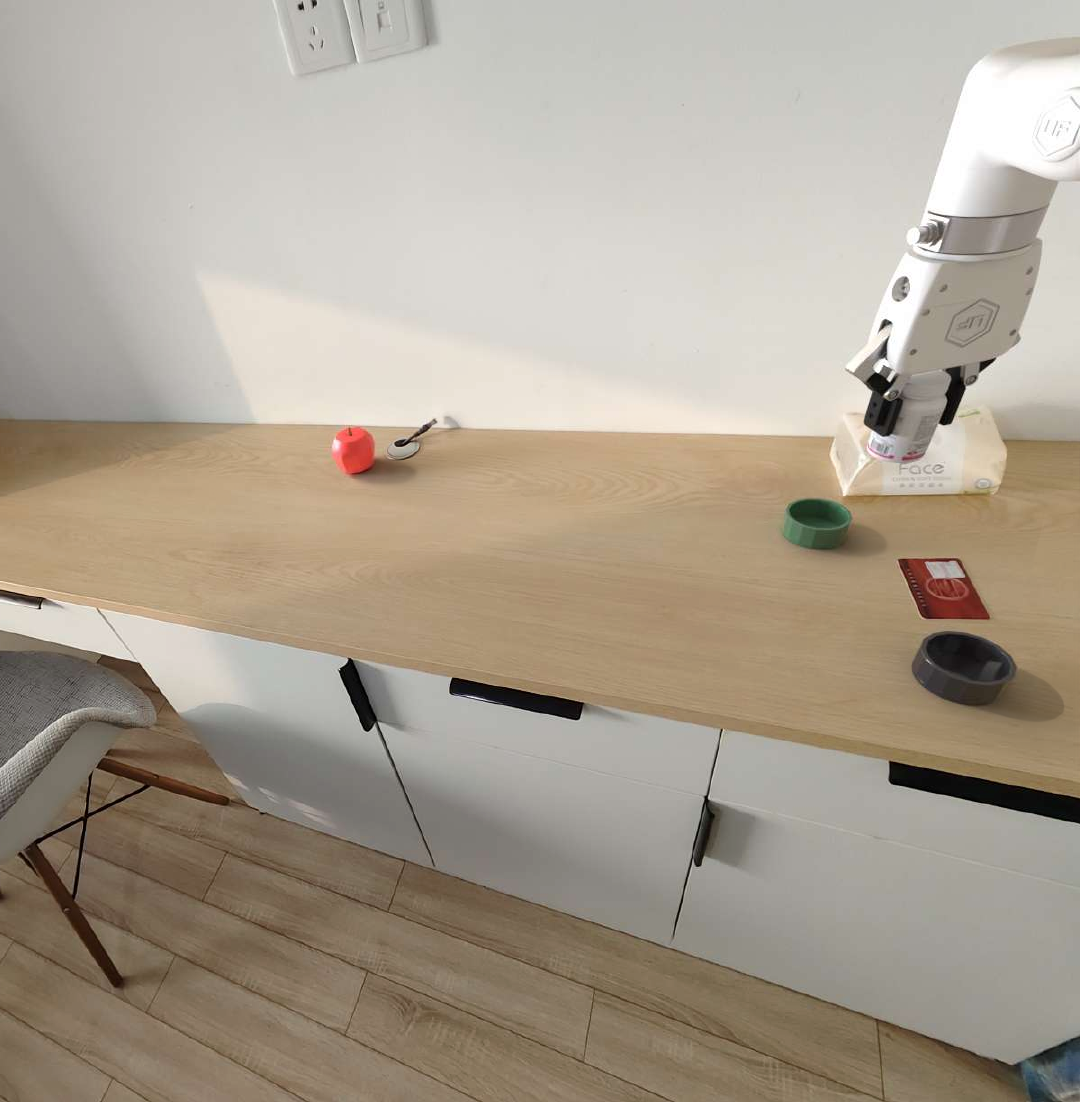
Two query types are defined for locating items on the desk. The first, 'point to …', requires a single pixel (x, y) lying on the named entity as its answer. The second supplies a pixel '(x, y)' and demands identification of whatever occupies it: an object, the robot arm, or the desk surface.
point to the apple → (353, 450)
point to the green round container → (816, 523)
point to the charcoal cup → (963, 668)
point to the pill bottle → (914, 419)
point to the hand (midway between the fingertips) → (906, 422)
